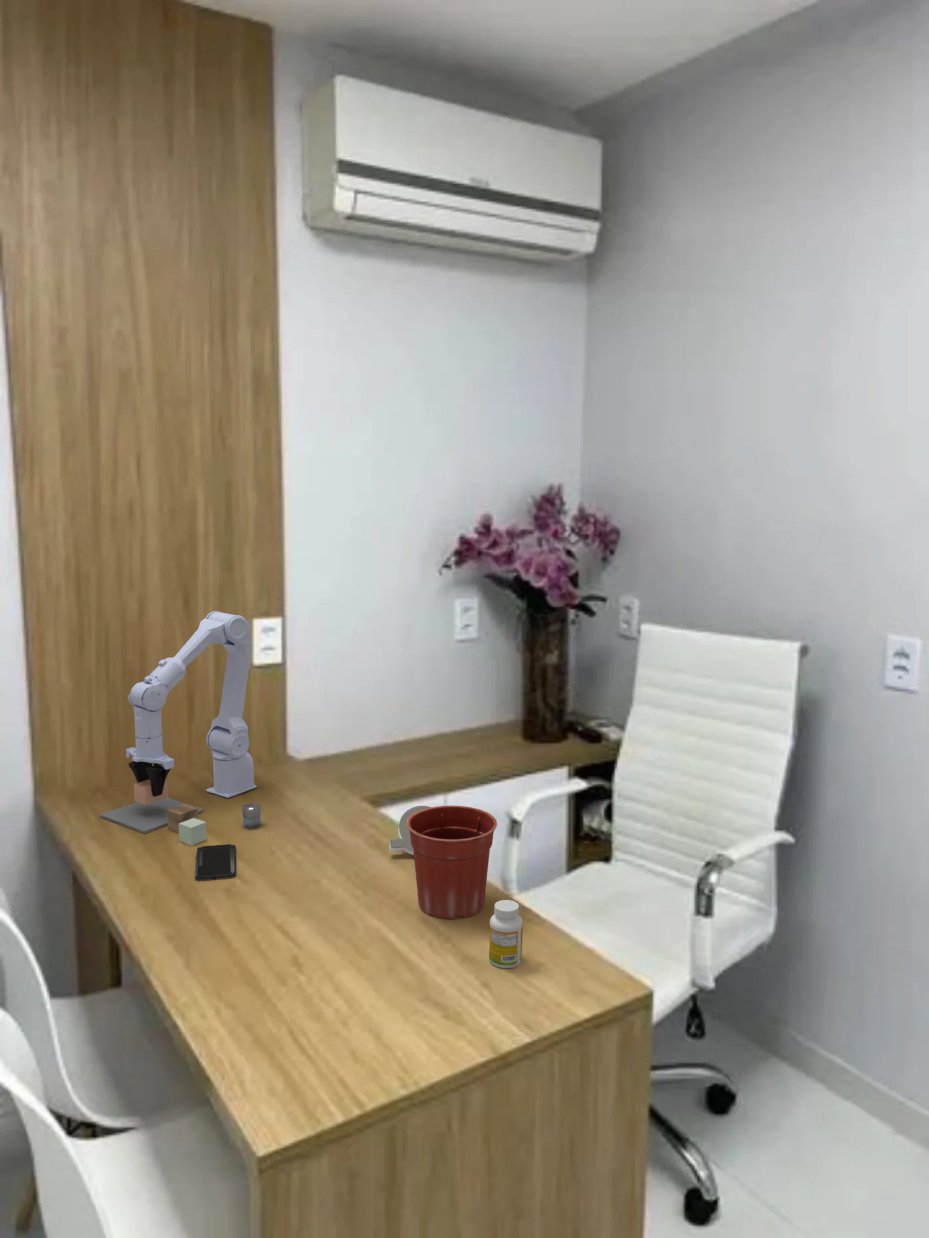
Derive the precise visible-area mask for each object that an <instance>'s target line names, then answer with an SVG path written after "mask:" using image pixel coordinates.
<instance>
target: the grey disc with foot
mask: <svg viewBox="0 0 929 1238" xmlns="http://www.w3.org/2000/svg"><path fill="white" fill-rule="evenodd" d="M431 807H432V806H429V805H416V806H413V807H411V808H409V809H407V810H406V811H405V812H403V814H402V815H401V817H400V820H399V824H398V831H397V832H398V833H397V834H398V838H395V839H389V843H388V845H389V846H388V848H389V853H400V852H405V853H407V854H409V855H411V856H414V852H413V847H412V845H411V838H410V831H409V830H408V828H407V824H406V822H407V819H408V818H409V817H410V816H411V815H412V814H414V813H415V812H418V811H420V810H423V809H427V808H431Z"/></svg>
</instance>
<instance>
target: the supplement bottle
mask: <svg viewBox="0 0 929 1238" xmlns="http://www.w3.org/2000/svg"><path fill="white" fill-rule="evenodd" d="M493 909H494V912H493V913H494V914H493V915H492V916H491V918H490V920H489V935H488V936H489V937H488V938H489V940H488V941H489V942H488V943H489V945H488V948H489V949H488V953H489V954H488V960H489V962H490V964H491V965H493V966H494V967H498V968H500V969H512V968H515V967H517V966H519V965H520V964H521V963H522V960H523V933H524V932H523V930H524V929H523V928H524V927H523V926H524V924H523V923H524V922H523V919H522V917H521V916H520V915H519V914H520V905H519V903H517V902H516V901H514V900H510V899H502V900H499V901H496V902H495V903H494V907H493Z"/></svg>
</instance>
